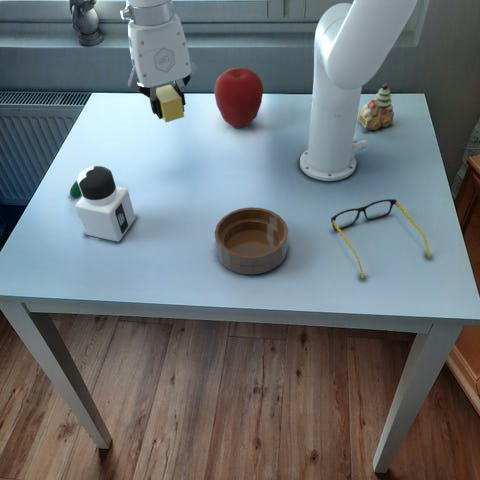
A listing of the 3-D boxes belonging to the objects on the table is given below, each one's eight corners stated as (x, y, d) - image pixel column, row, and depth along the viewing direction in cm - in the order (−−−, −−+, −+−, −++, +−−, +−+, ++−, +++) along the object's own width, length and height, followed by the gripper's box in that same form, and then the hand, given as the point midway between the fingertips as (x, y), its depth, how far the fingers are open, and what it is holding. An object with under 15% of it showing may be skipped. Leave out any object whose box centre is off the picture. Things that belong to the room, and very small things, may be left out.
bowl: (265, 218, 97) (265, 199, 93) (300, 259, 90) (301, 240, 86) (205, 241, 94) (203, 222, 90) (236, 286, 86) (235, 267, 82)
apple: (263, 135, 115) (263, 80, 105) (216, 136, 116) (211, 82, 105) (262, 109, 122) (262, 55, 112) (218, 110, 123) (213, 57, 112)
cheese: (173, 103, 98) (170, 84, 95) (184, 116, 94) (181, 97, 91) (155, 109, 97) (151, 89, 94) (165, 122, 93) (162, 103, 90)
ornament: (368, 135, 113) (376, 94, 105) (353, 123, 117) (359, 82, 109) (394, 125, 115) (404, 84, 107) (379, 114, 119) (387, 73, 111)
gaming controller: (112, 208, 104) (118, 181, 103) (102, 205, 100) (108, 177, 99) (78, 198, 106) (84, 171, 105) (67, 195, 103) (73, 167, 102)
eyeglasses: (389, 211, 97) (393, 195, 94) (429, 257, 88) (436, 242, 85) (326, 229, 94) (328, 214, 91) (362, 279, 86) (366, 264, 83)
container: (136, 218, 99) (121, 164, 88) (119, 243, 94) (101, 189, 84) (104, 211, 101) (85, 158, 90) (85, 235, 96) (64, 182, 86)
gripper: (111, 31, 77) (136, 133, 92) (204, 7, 81) (214, 109, 95) (98, 15, 81) (125, 115, 96) (187, -7, 85) (200, 93, 99)
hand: (169, 111), depth 95 cm, fingers closed on cheese, 4 cm apart
